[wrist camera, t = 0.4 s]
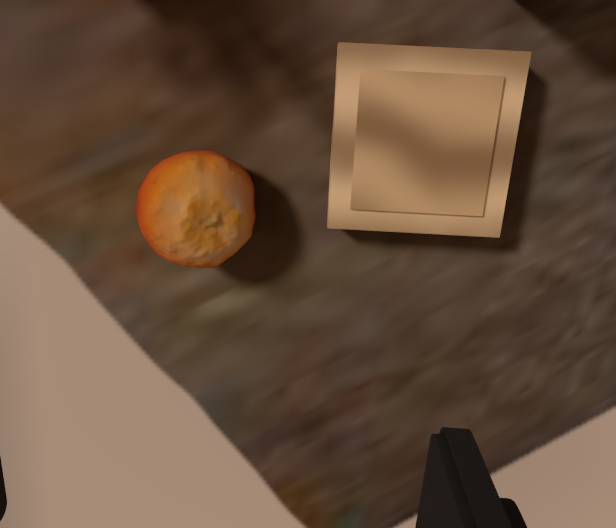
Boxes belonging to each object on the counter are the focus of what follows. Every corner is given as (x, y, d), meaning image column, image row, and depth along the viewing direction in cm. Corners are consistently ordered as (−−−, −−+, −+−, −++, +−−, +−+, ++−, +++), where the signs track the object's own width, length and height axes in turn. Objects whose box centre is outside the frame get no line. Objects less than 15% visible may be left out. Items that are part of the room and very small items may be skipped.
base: (337, 45, 35) (338, 41, 32) (514, 54, 35) (533, 51, 32) (326, 218, 39) (327, 229, 36) (487, 226, 39) (500, 238, 36)
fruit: (128, 128, 36) (157, 153, 30) (234, 143, 40) (279, 168, 34) (118, 238, 39) (142, 281, 32) (218, 241, 43) (257, 281, 37)
